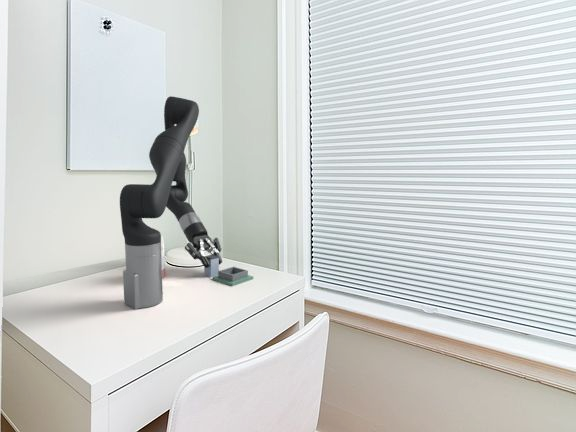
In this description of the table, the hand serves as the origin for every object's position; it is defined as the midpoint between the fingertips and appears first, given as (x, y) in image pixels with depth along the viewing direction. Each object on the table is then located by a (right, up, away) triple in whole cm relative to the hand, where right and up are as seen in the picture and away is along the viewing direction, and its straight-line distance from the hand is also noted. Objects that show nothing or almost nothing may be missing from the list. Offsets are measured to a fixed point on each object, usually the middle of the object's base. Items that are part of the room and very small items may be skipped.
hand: (214, 264), depth 118 cm
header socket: (+7, -5, -2) cm, 9 cm away
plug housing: (-1, -4, +1) cm, 5 cm away
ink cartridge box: (-20, -5, -5) cm, 21 cm away
